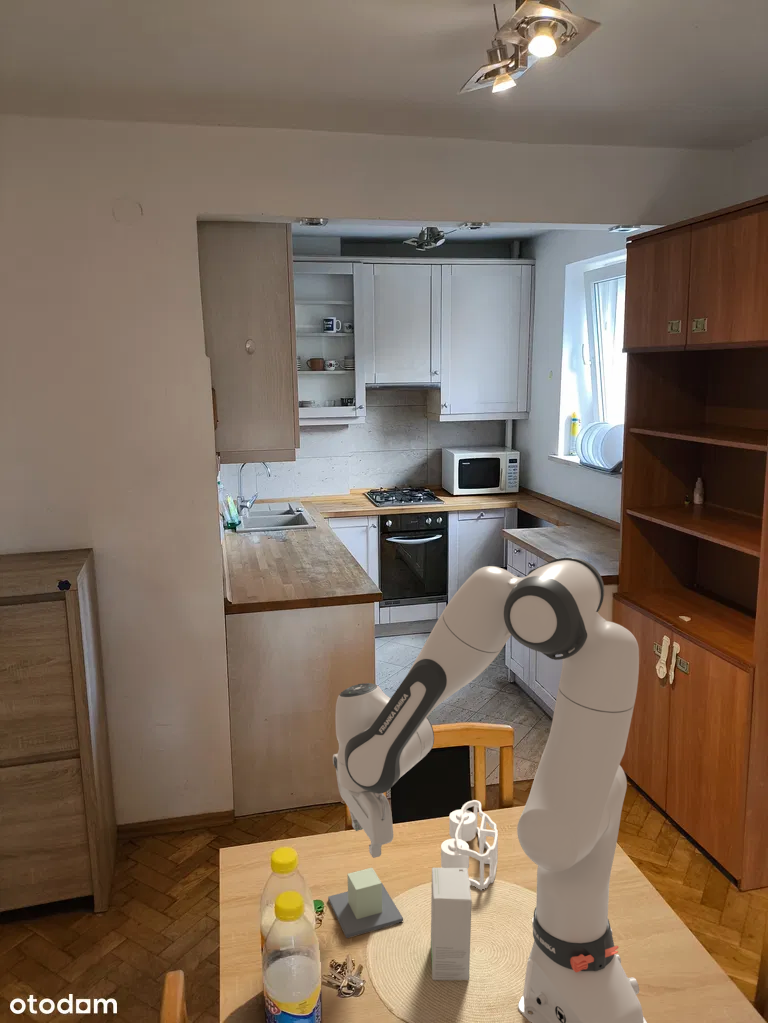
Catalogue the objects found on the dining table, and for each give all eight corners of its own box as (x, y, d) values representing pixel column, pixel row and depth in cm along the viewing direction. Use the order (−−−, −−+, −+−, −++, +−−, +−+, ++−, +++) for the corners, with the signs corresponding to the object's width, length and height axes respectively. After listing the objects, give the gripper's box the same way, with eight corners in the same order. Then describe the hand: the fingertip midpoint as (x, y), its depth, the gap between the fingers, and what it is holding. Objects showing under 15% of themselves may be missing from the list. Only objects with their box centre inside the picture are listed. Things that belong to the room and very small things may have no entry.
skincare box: (430, 945, 134) (430, 865, 132) (468, 946, 134) (468, 865, 132) (432, 982, 126) (431, 897, 124) (472, 983, 126) (472, 898, 123)
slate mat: (403, 921, 140) (403, 918, 140) (346, 938, 136) (346, 934, 136) (381, 886, 150) (381, 882, 150) (328, 900, 147) (328, 896, 146)
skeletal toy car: (452, 827, 170) (452, 797, 169) (502, 833, 168) (502, 803, 166) (437, 884, 151) (437, 850, 150) (493, 892, 148) (493, 858, 147)
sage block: (382, 912, 142) (381, 883, 141) (356, 919, 140) (356, 889, 139) (372, 895, 146) (372, 867, 145) (348, 902, 145) (347, 873, 144)
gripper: (400, 793, 130) (403, 867, 132) (360, 745, 149) (364, 811, 151) (365, 801, 128) (369, 877, 130) (329, 752, 147) (333, 818, 149)
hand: (366, 841), depth 141 cm, fingers open, 8 cm apart
